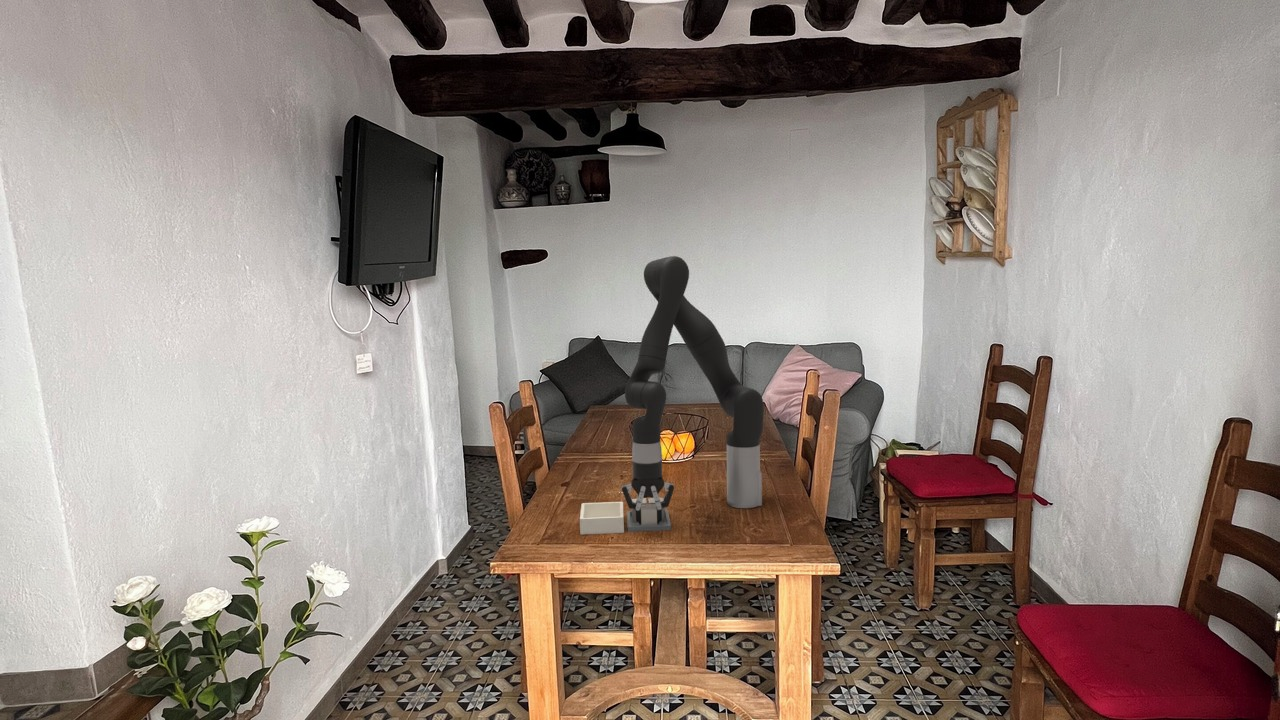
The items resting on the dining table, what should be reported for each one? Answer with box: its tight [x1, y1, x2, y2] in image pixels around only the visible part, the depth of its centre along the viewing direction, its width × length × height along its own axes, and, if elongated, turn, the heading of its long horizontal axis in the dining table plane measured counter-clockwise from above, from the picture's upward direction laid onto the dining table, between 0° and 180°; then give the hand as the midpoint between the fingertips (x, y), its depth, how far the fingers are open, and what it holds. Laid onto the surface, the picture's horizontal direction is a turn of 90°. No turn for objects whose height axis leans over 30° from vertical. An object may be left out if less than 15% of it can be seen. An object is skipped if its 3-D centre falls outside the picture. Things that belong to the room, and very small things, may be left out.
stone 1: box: [630, 498, 648, 522], centre depth 190 cm, size 4×4×5 cm
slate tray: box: [626, 508, 672, 533], centre depth 188 cm, size 11×12×2 cm
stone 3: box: [647, 497, 665, 521], centre depth 190 cm, size 4×4×5 cm
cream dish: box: [579, 501, 625, 535], centre depth 187 cm, size 11×12×5 cm
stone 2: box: [641, 504, 657, 525], centre depth 185 cm, size 4×4×5 cm
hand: (648, 522), depth 185 cm, fingers closed on stone 2, 4 cm apart
